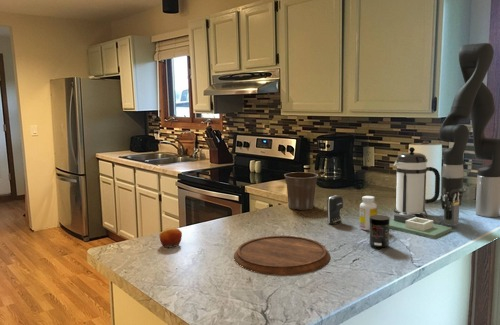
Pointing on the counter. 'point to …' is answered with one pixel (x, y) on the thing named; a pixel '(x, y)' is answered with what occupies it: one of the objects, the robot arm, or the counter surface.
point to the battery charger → (334, 209)
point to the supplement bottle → (367, 211)
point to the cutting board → (282, 255)
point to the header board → (417, 225)
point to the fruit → (170, 237)
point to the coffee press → (413, 183)
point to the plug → (453, 215)
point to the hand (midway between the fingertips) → (451, 218)
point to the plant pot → (301, 189)
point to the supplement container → (379, 231)
